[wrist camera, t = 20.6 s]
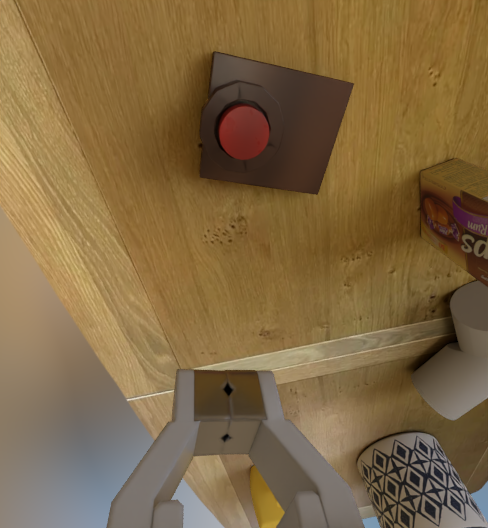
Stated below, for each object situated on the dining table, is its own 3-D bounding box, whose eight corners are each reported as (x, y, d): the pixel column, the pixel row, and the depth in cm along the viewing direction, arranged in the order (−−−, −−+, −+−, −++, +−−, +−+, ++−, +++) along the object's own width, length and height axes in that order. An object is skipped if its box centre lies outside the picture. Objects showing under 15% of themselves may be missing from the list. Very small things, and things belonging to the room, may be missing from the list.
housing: (194, 171, 31) (194, 183, 28) (207, 50, 26) (208, 49, 23) (312, 189, 33) (323, 201, 30) (346, 82, 28) (363, 85, 25)
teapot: (242, 456, 63) (250, 529, 53) (302, 443, 63) (321, 514, 53) (255, 496, 74) (263, 562, 64) (306, 485, 74) (322, 550, 65)
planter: (356, 440, 65) (398, 542, 52) (442, 422, 65) (506, 518, 52) (354, 478, 75) (389, 571, 62) (428, 461, 75) (479, 551, 62)
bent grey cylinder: (523, 350, 52) (520, 268, 42) (569, 414, 44) (579, 332, 33) (410, 373, 59) (382, 307, 48) (432, 432, 51) (404, 368, 40)
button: (215, 150, 27) (215, 155, 25) (222, 98, 25) (223, 101, 23) (260, 157, 28) (263, 163, 26) (270, 108, 26) (274, 111, 24)
